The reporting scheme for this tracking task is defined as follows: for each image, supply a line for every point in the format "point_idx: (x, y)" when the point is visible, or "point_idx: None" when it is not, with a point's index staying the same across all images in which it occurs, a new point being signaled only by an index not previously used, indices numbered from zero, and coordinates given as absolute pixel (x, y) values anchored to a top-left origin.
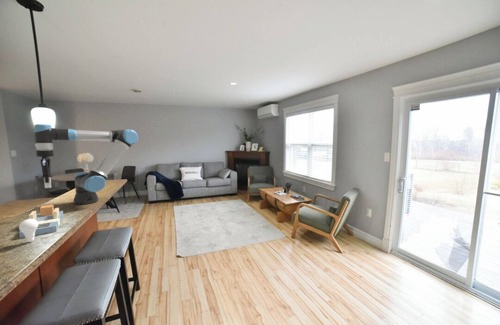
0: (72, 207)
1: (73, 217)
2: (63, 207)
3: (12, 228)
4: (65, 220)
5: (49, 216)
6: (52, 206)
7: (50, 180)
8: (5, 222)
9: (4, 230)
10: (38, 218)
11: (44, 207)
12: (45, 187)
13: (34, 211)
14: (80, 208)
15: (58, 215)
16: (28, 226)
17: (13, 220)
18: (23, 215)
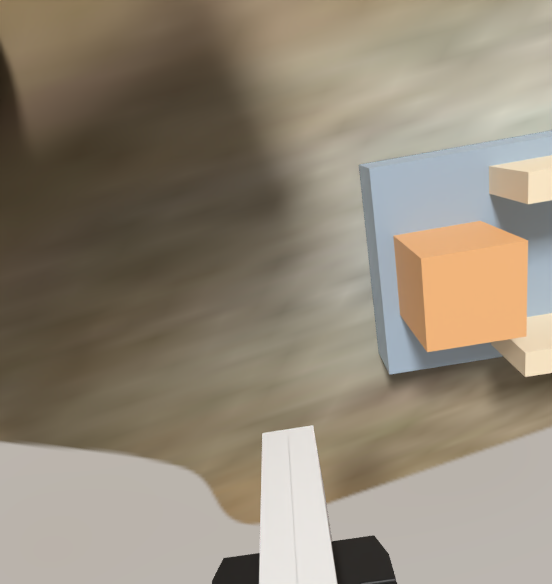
0: (83, 158)
1: (486, 42)
2: (56, 248)
3: (520, 406)
4: (546, 95)
5: (522, 231)
6: (487, 245)
7: (288, 568)
8: (347, 493)
9: (535, 432)
10: (533, 300)
11: (515, 306)
12: (325, 499)
13: (546, 357)
14: (155, 55)
15: (549, 156)
16: None
17: (321, 469)
18: (213, 459)
